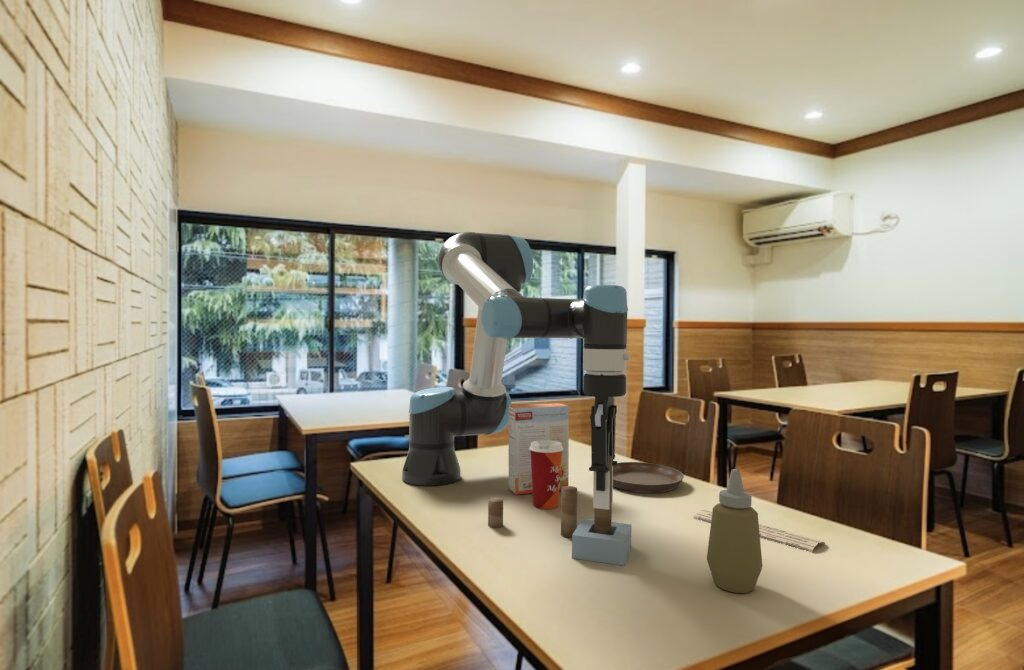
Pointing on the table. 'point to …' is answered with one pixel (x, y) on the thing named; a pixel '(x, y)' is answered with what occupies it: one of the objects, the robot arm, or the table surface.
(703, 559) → the table surface
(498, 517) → the short walnut peg
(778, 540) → the newspaper
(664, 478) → the plant saucer
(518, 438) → the cracker box
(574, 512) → the medium walnut peg
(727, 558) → the squeeze bottle
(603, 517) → the long walnut peg
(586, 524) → the slate-blue socket block
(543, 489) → the paper cup
